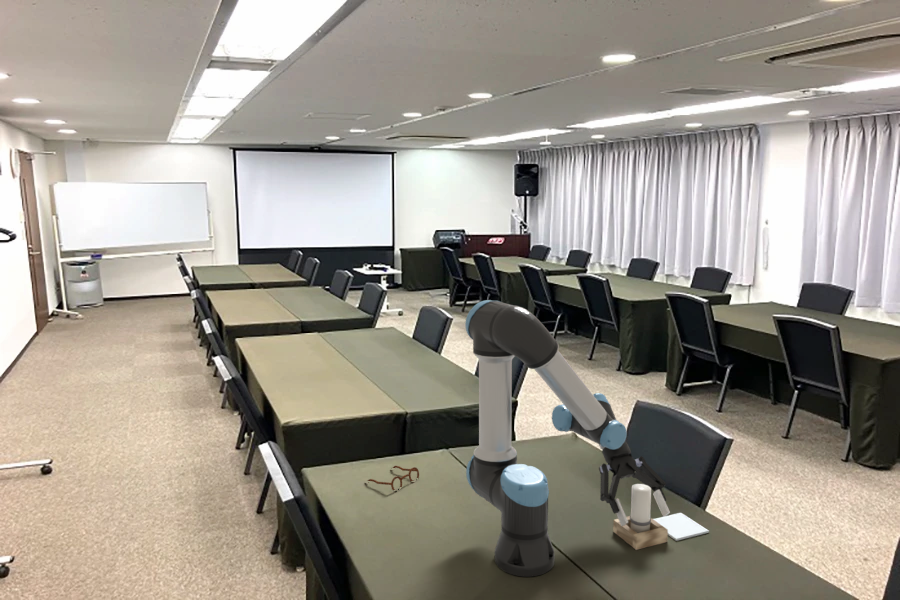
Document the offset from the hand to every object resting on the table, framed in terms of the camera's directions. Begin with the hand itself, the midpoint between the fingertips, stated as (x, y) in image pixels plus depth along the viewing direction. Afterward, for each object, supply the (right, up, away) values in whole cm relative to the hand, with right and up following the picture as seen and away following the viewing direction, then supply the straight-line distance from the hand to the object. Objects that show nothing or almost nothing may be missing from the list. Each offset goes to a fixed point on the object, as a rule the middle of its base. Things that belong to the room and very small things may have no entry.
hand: (646, 519), depth 171 cm
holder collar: (-1, -6, +3) cm, 7 cm away
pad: (+11, -5, +8) cm, 15 cm away
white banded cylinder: (-1, -6, +3) cm, 7 cm away
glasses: (-71, -2, +40) cm, 82 cm away
